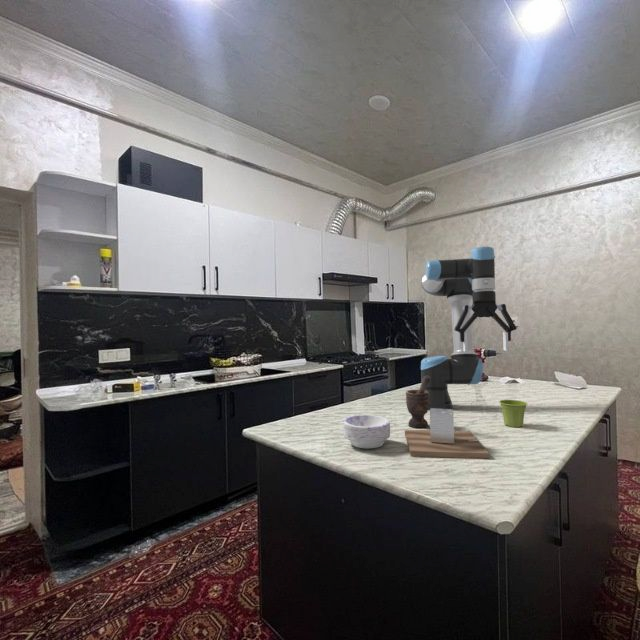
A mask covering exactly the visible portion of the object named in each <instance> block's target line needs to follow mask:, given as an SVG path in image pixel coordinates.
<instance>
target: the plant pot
mask: <svg viewBox="0 0 640 640" xmlns="http://www.w3.org/2000/svg"><path fill="white" fill-rule="evenodd" d="M498 403H499V404H500V407H501V411H502V416H503V417H502V418H503V423H504V425H505V426H508V427H511V428H520V427H521V428H523V426H524V417H525V410H526V409H527V406H528V402H526V401H523V400H515V399H502V400H499V402H498Z"/></svg>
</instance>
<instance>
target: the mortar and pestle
mask: <svg viewBox="0 0 640 640" xmlns="http://www.w3.org/2000/svg"><path fill="white" fill-rule="evenodd" d="M430 381H431V377H430V376H428V375H426V376H424V378H423V380H422V383H421V382H420V383H421V384H420V387H419V389H418V388H417V389H409V390H408V389H407V390H406V391H405V404H406V407H407V408H406V409H407V412H408V413H409V414H410V415H411V419H409V420H408V424H407V425H408V426H409V427H410V428H418V429H419V428H420V429H421V428H422V429H425V428H428V427H429V423H428V421H427V420H426V419H425V415H427V413H428V412H429V410H428V408H429V392H428V391H426V388H427V387H428V385H429V383H430Z"/></svg>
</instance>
